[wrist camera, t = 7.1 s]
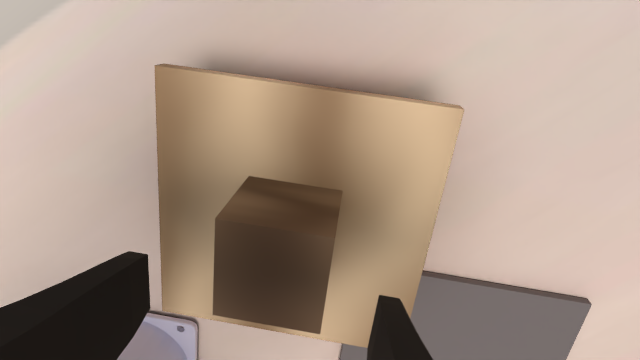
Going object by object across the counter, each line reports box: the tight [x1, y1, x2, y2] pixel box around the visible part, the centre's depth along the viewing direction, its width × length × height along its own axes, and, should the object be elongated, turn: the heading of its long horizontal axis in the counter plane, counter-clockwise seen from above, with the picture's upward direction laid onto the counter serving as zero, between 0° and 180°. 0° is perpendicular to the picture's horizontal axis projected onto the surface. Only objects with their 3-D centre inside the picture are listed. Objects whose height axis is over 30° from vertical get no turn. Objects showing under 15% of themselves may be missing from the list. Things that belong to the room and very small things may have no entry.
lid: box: [155, 64, 464, 348], centre depth 16 cm, size 12×12×5 cm
